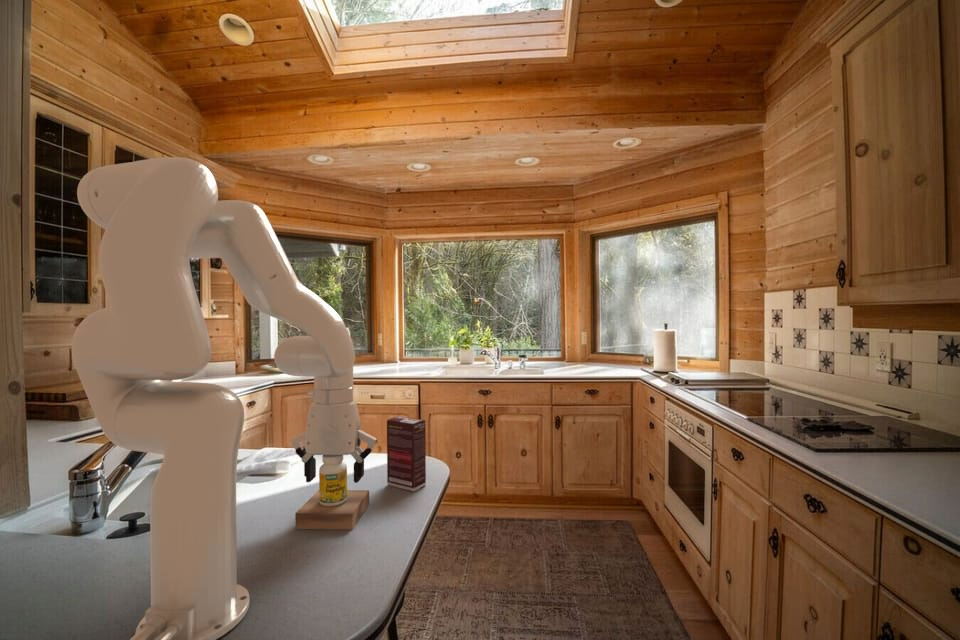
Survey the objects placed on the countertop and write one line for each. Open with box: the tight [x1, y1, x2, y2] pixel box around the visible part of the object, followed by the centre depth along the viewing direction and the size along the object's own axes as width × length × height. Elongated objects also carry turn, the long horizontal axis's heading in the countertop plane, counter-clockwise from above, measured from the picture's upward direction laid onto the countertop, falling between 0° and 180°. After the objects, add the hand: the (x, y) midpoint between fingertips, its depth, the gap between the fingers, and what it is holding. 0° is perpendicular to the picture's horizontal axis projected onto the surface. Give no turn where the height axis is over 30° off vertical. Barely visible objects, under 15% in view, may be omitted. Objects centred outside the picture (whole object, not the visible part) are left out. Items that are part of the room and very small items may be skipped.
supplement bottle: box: [318, 455, 348, 506], centre depth 86 cm, size 5×5×10 cm
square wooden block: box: [294, 489, 370, 531], centre depth 86 cm, size 11×11×3 cm
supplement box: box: [386, 415, 427, 492], centre depth 102 cm, size 9×5×16 cm, turn 59°
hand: (334, 480), depth 86 cm, fingers open, 9 cm apart
